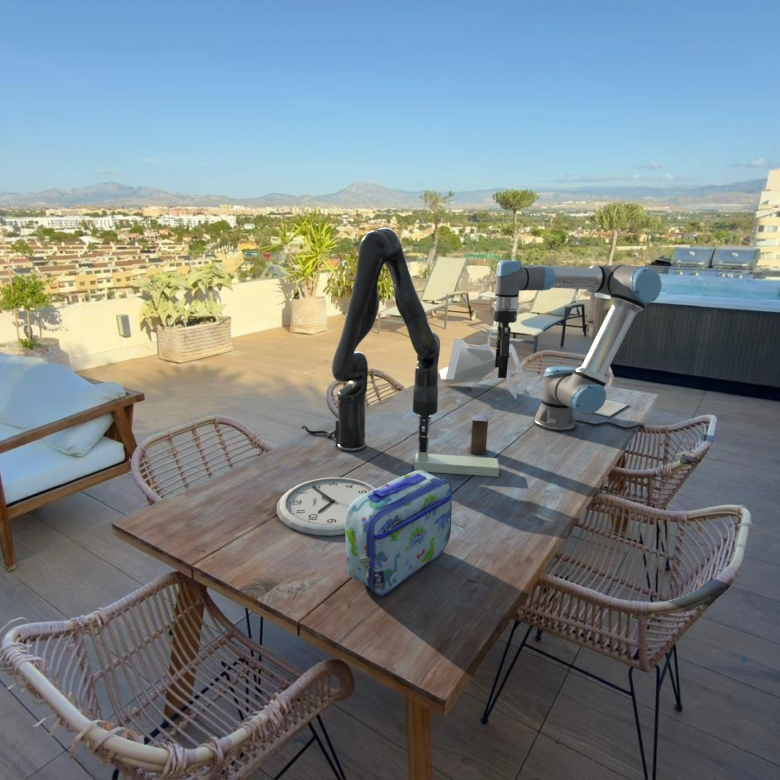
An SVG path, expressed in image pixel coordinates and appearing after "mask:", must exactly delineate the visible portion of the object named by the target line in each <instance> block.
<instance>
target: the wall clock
mask: <svg viewBox="0 0 780 780" xmlns="http://www.w3.org/2000/svg"><path fill="white" fill-rule="evenodd" d="M376 488H377V487H376V486H374V485H372V484H371V483H369V482H365V481H362V480H359V479H355V478H349V477H338V476H337V477H335V476H333V477H332V476H331V477H322V478H317V479H312V480H307V481H305V482H302V483H299V484H297V485H295V486H293V487H292V488H290V489H288V490H287V491H286V492H285V493H284V494H283V495H281V496H280V498H279V499H278V502H277V503H276V515H277V517H278V518H279V520H280V521H281V522H282V523H283V524H285V525H286V526H287V527H288V528H290V529H293V530H295V531H297V532H299V533H303V534H308V535H312V536H327V537H328V536H329V537H331V536H332V537H333V536H342V535H345V517H346V513H347V510H348V508H349V506H350V505H351V503H352V502H353V501H354V500H355V499H356V498H358V497H360V496H362V495H364V494H366V493H368V492H370V491H372V490H374V489H376Z"/></svg>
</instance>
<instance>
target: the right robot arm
mask: <svg viewBox="0 0 780 780" xmlns="http://www.w3.org/2000/svg"><path fill="white" fill-rule="evenodd" d="M551 289H572V290H586V291H587V292H588V293H595V294H596V293H597V294H601V295H605V296H609V300H610V304H611V305H610V306H609V309H608V312H607V313H606V315H605V317H604V319H603V321H602V324H601V326H600V328H599V330H598V331H597V334H596V336H595V337H594V339H593V341H592V343H591V345H590V347H589V350H588V351H587V354H586V356H585V358H584V360H583V362H582V364H581V366H580V367H577V368H576V367H573V366H558V365H557V366H549V367H547V368H546V369H545V370H544V373H543V381H542V382H543V384H542V394H541V402H540V405H539V407H538V410H537V411H536V413H535V417H534V424H535V425H536V426H537V427H539V428H542V429H544V430H549V431H556V432H567V431H572V430H574V429H575V428H576V423H577V424H584V425H588V426H592V427H598V426H602V425H610V426H614V427H616V428H619V429H623V430H633V429H635V428H640V429H641V430H645V429H646V428H645V426H643V424H642V425H641V424H635V425H632V426H623V425H620V424H617V423H614V422H610V421H602V422H598V423H593V422H589V421H584V420H578V419H576V418H575V417H576V416H575V413H574V412H577V413H579V414H583V415H590V414H594V413H593V412H596V411H597V410H599V409H600V408H601V407H602V406H603V404H604V403H605V400H607V391H606V389H605V387H606V384H607V380H606V374H607V373H608V371H609V368H610V367H611V365H612V362H613V361H614V359H615V357H616V355H617V353H618V351H619V348H620V347H621V344H622V343H623V341H624V339H625V336H626V335H627V332H628V331H629V329H630V327H631V324H632V322H633V321H634V319H635V317H636V315H637V314H638V313H640V312H644V309H645V307H646V305H647V304H651V303H653V302H655V301H656V300H657V299H658V297H659V296H660V295H661V291H662V280H661V276H660V273H659V272H658V271H656V269H654V268H651V267H646V266H644V265H643V266H642V265H640V266H638V265H628V264H610V265H591V266H590V267H575V266H559V265H540V264H539V265H538V264H523V263H522V261H521V260H511V259H510V260H509V259H505V260H504V259H503V260H500V261H499V262H498V263H497V267H496V274H495V291H494V298H492V302H493V303H494V306H493V307H494V310H493V312H494V314H493V313H492V315H493V317H492V320H493V321H494V322H495V323H496V322H498V323H499V326H498V328H497V327H496V328H497V329H496V330H497V332H496V341H495V345H496V346H495V347H496V349H495V350H496V358H495V367H497V369H498V371H497V379H506V378H507V366H508V367H509V360H508V358H509V345H510V339H511V331H512V328H511V326H510V323H511V324H515V323H516V322H517V320H518V309H519V299H520V292H523V291H540V292H543V291H549V290H551Z"/></svg>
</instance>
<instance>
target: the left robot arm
mask: <svg viewBox="0 0 780 780" xmlns="http://www.w3.org/2000/svg"><path fill="white" fill-rule="evenodd" d="M384 265H385V267H386V268H387V271H388V273H389V275H390V279H391V282H392V289H393V297H394V302H395V306H396V308H397V311H398V313H399V315H400V317H401V320H402V321H403V324H404V326H405V327H406V330H407V333H408V336H409V340H410V342H411V345H412V347H413V350H414V351H415V353H416V366H415V368H414V385H413V392H412V394H413V395H412V412H413V413H414V414H416V415H418V419H417V424H418V426H417V427H418V428H417V434H418V443H419V442H420V452H427V441H428V439H427V438H428V434H429V435H430V431H431V430H430V429H431V424H432V416H433V415H436V414H437V412H438V404H439V403H438V402H439V386H438V385H439V384H438V383H439V381H438V380H439V361H440V353H441V352H440V351H441V340H440V337H439V335H438V334H437V333H435V332H434V331H432V328H431V326H430V324H429V318H428V314H427V312H426V310H425V308H424V305H423V304H422V302H421V299H420V297H419V294H418V292H417V290H416V287H415V285H414V282H413V279H412V277H411V274H410V271H409V267H408V263H407V261H406V257H405V254H404V250H403V247H402V244H401V241H400V238H399V236H398V234H397V233H396V232H395V231H394V230H393V229H392V228H389V227H381V228H377V229H375V230H371V231H369V232H367V233H366V234H365V235H364V236H363V237H362V238H361V241H360V244H359V249H358V255H357V264H356V271H355V277H354V280H353V285H352V289H351V294H350V298H349V302H348V305H347V310H346V314H345V319H344V320H345V321H344V324H343V327H342V332H341V335H340V339H339V340H338V344H337V346H336V350H335V353H334V355H333V358H332V362H331V373H332V377H333V378H334V380H335V381H336V382H339V383H345V382H347V383H346V385H344V386H343V387H342V388H340V389H339V390H338V392H337V419H336V420H335V429H334V430H333V431H331V432H330V433H329V432H328V431H326V430H310V429H309V428H308V427H307V426H306V425H302V426H301V427H300V429H301V430H302V429H304V430H305V431H306V433H308V434H310V435H311V434H312V435H314V434H315V435H316V434H325V435H326V437H327V438H328V439H331V438H332V437H333V439H334V440H335V447H337V448H338V449H339V450H341V451H345V452H359V451H362V450H363V449H365V448H366V435H367V434H366V433H367V432H366V395H367V392H368V380H369V379H368V377H369V363H368V359H367V357H366V355H365V354H364V353H363V352H361V351H356V349H357V347H358V346H359V345H360V343H361V342H363V340H364V339H365V338H366V336H368V334H369V333H370V332H371V330H372V329H373V327H374V326H375V324H376V321H377V318H378V317H377V316H378V313H379V309H380V296H379V295H380V294H379V288H378V285H379V279H380V276H381V272H382V269H383V268H384ZM421 436H425V437H426V438H424V437H421Z"/></svg>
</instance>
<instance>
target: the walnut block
mask: <svg viewBox="0 0 780 780" xmlns="http://www.w3.org/2000/svg"><path fill="white" fill-rule="evenodd" d="M488 427H489V418H488V416H487V415H472V417H471V428H470V429H471V430H470V431H471V432H470V445H469V447H470V448H469V449H470V455H471V454H472V455H486V454H487V453H486V452H487V441H488V429H489V428H488Z"/></svg>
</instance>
